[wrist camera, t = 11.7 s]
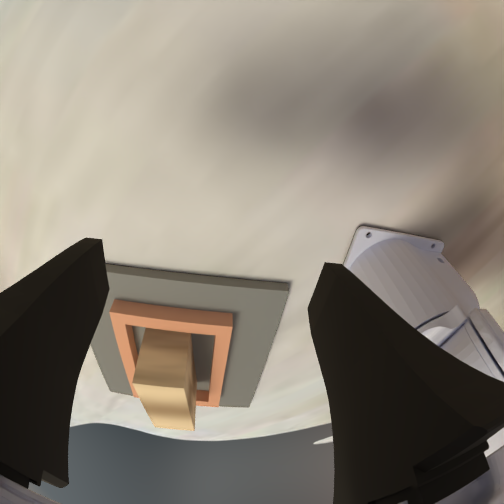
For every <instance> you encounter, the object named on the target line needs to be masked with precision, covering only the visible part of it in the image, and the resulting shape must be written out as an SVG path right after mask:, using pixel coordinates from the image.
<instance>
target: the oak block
mask: <svg viewBox="0 0 504 504" xmlns="http://www.w3.org/2000/svg"><path fill="white" fill-rule="evenodd" d="M132 384H133V386H134V388H135V390H136V392H137V394H138V396H139V398H140V400H141V402H142V404H143V406H144V408H145V410H146V412H147V414H148V415H149V417H150V419H151V421H152V423H153V425H154V426H155V427H159V428H168V429H179V430H191V431H194V429H195V409H196V392H197V378H196V370H195V363H194V355H193V347H192V338H191V333H186V332H177V331H169V330H161V329H153V328H145V332H144V336H143V340H142V344H141V348H140V352H139V356H138V360H137V364H136V368H135V372H134V377H133V381H132Z"/></svg>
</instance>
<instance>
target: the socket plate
mask: <svg viewBox="0 0 504 504" xmlns="http://www.w3.org/2000/svg"><path fill="white" fill-rule="evenodd" d="M106 271H107V277H108V283H109V288H110V290H109V293H108V297H107V300H106V304H105V307H104V310H103V314H102V316H101V319H100V321H99V324H98V326H97V329H96V331H95V334H94V336H93V339H92V341H91V347H92V349H93V352H94V354H95V357H96V360H97V362H98V364H99V367H100V369H101V372H102V374H103V376H104V379H105V381H106V383H107V385H108V387H109V390H110V391H111V392H116V393H121V394H126V395H131V396H134V397H137V398H139V396H138V394H137V392H136V390H135V388H134V386H133V384H132V381H133V377H134V372H135V368H136V364H137V360H138V356H139V352H140V348H141V344H142V340H143V336H144V332H145V328H153V329H161V330H169V331H177V332H186V333H191V338H192V347H193V355H194V363H195V370H196V378H197V392H196V405H198V406H210V407H219V406H224V407H249V406H250V403H251V401H252V398H253V395H254V393H255V390H256V387H257V385H258V382H259V379H260V376H261V374H262V371H263V368H264V365H265V362H266V360H267V357H268V354H269V351H270V348H271V345H272V342H273V339H274V336H275V333H276V331H277V328H278V325H279V322H280V319H281V316H282V312H283V309H284V306H285V303H286V300H287V297H288V294H289V288H288V284H287V283H279V282H267V281H256V280H245V279H235V278H225V277H215V276H205V275H196V274H186V273H177V272H168V271H160V270H151V269H143V268H135V267H127V266H119V265H111V264H106Z"/></svg>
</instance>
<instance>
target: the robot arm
mask: <svg viewBox="0 0 504 504" xmlns="http://www.w3.org/2000/svg"><path fill="white" fill-rule="evenodd" d="M368 232H370V234H369V235H367V236H366V234H367V233H368ZM432 244H433V245H432ZM431 245H432V246H431ZM443 248H444V243H443V242H442V241H441V240H436V239H431V238H426V237H421V236H416V235H410V234H405V233H400V232H394V231H389V230H383V229H378V228H372V227H366V226H361V227H359V228H358V229H357V230H356V232H355V235H354V238H353V241H352V243H351V246H350V249H349V251H348V254H347V256H346V259H345V262H344V264H343V265H342V264H336V263H326V262H325V263H324V266H323V269H322V271H321V274H320V277H319V280H318V282H317V285H316V288H315V290H314V293H313V296H312V298H311V301H310V303H309V306H308V315H309V323H310V329H311V335H312V339H313V343H314V346H315V350H316V354H317V357H318V361H319V364H320V368H321V372H322V375H323V379H324V383H325V386H326V390H327V395H328V400H329V406H330V414H331V421H332V430H333V443H334V464H335V465H334V468H335V475H334V477H335V478H334V499H333V504H504V332H503V330H502V329H501V328H500V326H499V325H498V323H497V322H496V321H495V319H494V318H493V317H492V315H491V314H490V313H489V312H488V310H487V309H480V307H479V303H478V299H477V297H476V295H475V293H474V291H473V290H472V289H471V288H470V286H469V285H468V284H467V283H466V281H465V280H464V279H463V278H462V277H461V276H460V274H459V273H458V272H457V271H456V270H455V269H454V267H453V266H452V265H451V264H450V263H449V262H448V261H447V260H446V258H445V257H444V256H443V255H442V254H441V252H442V250H443ZM109 290H110V288H109V283H108V277H107V271H106V264H105V258H104V251H103V243H102V239H94V238H84V239H82V240H80V241H79V242H77V243H75V244H74V245H72V246H70V247H69V248H67V249H66V250H64V251H63V252H61V253H60V254H58V255H57V256H55V257H54V258H52V259H51V260H49V261H48V262H46V263H45V264H44V265H42V266H41V267H39V268H38V269H36V270H35V271H33V272H32V273H30V274H29V275H27V276H26V277H24V278H23V279H21V280H20V281H18V282H17V283H15V284H14V285H12V286H11V287H9V288H7V289H6V290H4V291H3V292H1V293H0V504H60V503H58V502H55V501H53V500H50V499H48V498H46V497H44V496H41V495H39V494H37V493H35V492H33V491H31V490H29V489H28V486H29V482H32V483H33V484H35V485H38V486H40V485H41V480H42V481H44V482H47V483H49V484H51V485H54V486H56V487H59V488H63V487H65V486H67V485H68V484H69V478H68V441H69V428H70V420H71V412H72V405H73V400H74V395H75V390H76V385H77V380H78V377H79V374H80V370H81V367H82V364H83V362H84V359H85V356H86V354H87V351H88V349H89V346H90V344H91V341H92V339H93V336H94V334H95V331H96V329H97V326H98V324H99V321H100V319H101V316H102V314H103V310H104V307H105V304H106V300H107V297H108V293H109Z"/></svg>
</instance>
